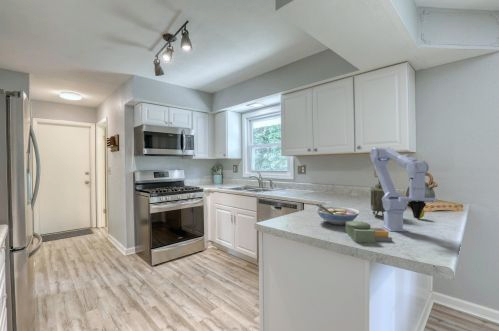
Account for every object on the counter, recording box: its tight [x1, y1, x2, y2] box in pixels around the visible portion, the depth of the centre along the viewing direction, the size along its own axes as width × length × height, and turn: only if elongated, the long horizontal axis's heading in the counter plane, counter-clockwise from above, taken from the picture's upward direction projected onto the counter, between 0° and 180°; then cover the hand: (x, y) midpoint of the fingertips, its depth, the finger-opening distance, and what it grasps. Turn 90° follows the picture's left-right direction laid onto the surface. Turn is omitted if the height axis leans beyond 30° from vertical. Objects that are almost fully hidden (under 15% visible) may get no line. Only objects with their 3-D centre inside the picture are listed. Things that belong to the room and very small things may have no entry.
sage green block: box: [345, 220, 393, 244], centre depth 110 cm, size 15×18×6 cm
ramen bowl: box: [315, 204, 360, 226], centre depth 134 cm, size 25×23×8 cm
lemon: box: [417, 208, 425, 220], centre depth 144 cm, size 6×6×8 cm
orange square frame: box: [370, 227, 390, 237], centre depth 109 cm, size 6×7×4 cm
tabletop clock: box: [370, 180, 386, 218], centre depth 151 cm, size 14×9×25 cm, turn 159°
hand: (416, 217), depth 109 cm, fingers closed
